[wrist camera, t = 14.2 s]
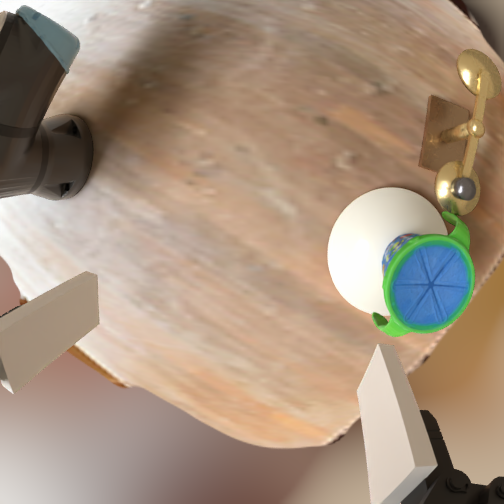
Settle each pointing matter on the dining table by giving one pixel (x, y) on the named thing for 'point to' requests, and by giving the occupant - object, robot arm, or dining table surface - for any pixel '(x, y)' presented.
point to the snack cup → (426, 280)
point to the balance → (459, 135)
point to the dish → (375, 241)
